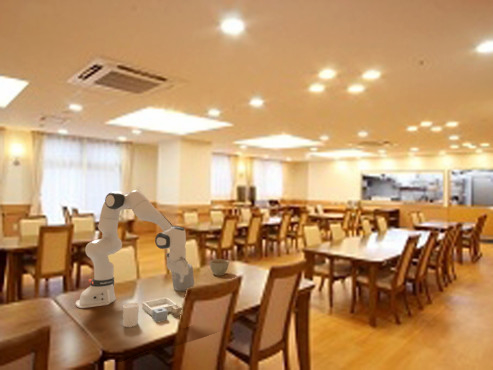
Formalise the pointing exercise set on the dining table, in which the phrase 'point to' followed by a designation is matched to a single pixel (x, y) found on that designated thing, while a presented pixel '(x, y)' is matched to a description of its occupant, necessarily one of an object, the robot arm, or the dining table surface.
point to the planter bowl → (219, 266)
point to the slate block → (159, 314)
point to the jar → (184, 280)
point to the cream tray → (158, 305)
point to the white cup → (130, 314)
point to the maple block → (176, 310)
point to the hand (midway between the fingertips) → (177, 280)
